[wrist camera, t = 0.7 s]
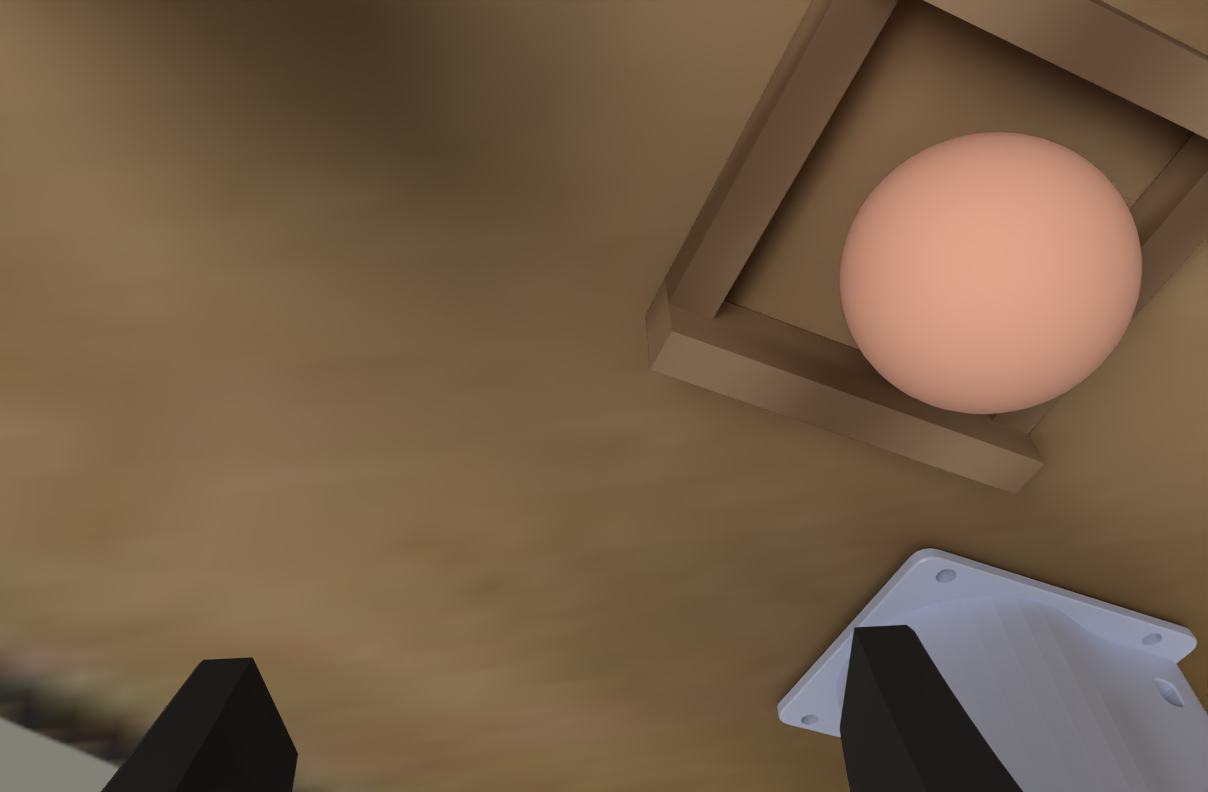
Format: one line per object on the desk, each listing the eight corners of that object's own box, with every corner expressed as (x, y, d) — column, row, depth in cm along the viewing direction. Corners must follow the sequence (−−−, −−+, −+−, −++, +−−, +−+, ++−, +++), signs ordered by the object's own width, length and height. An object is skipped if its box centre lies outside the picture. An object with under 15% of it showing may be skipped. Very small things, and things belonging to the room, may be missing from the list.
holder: (1283, 94, 17) (1352, 136, 16) (985, 437, 22) (1015, 494, 21) (874, -117, 15) (908, -94, 14) (645, 315, 20) (650, 369, 19)
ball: (1123, 149, 18) (1275, 280, 14) (967, 347, 21) (1056, 503, 17) (907, 47, 17) (1006, 159, 13) (771, 272, 20) (817, 421, 16)
